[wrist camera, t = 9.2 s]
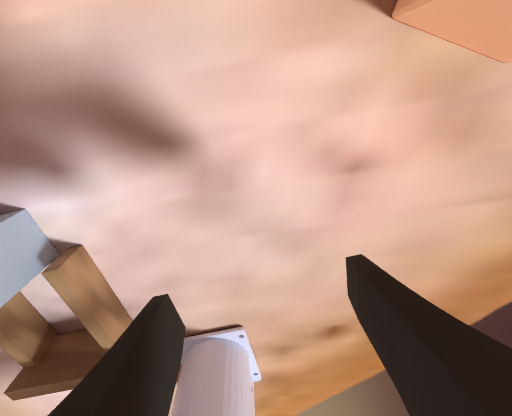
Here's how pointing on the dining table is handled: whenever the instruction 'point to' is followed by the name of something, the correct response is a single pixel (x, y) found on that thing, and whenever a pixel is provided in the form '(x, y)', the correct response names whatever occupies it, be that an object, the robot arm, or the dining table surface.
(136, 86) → the dining table surface
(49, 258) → the tethered block
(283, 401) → the dining table surface
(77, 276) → the walnut lane
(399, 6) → the soap dispenser
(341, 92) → the dining table surface
